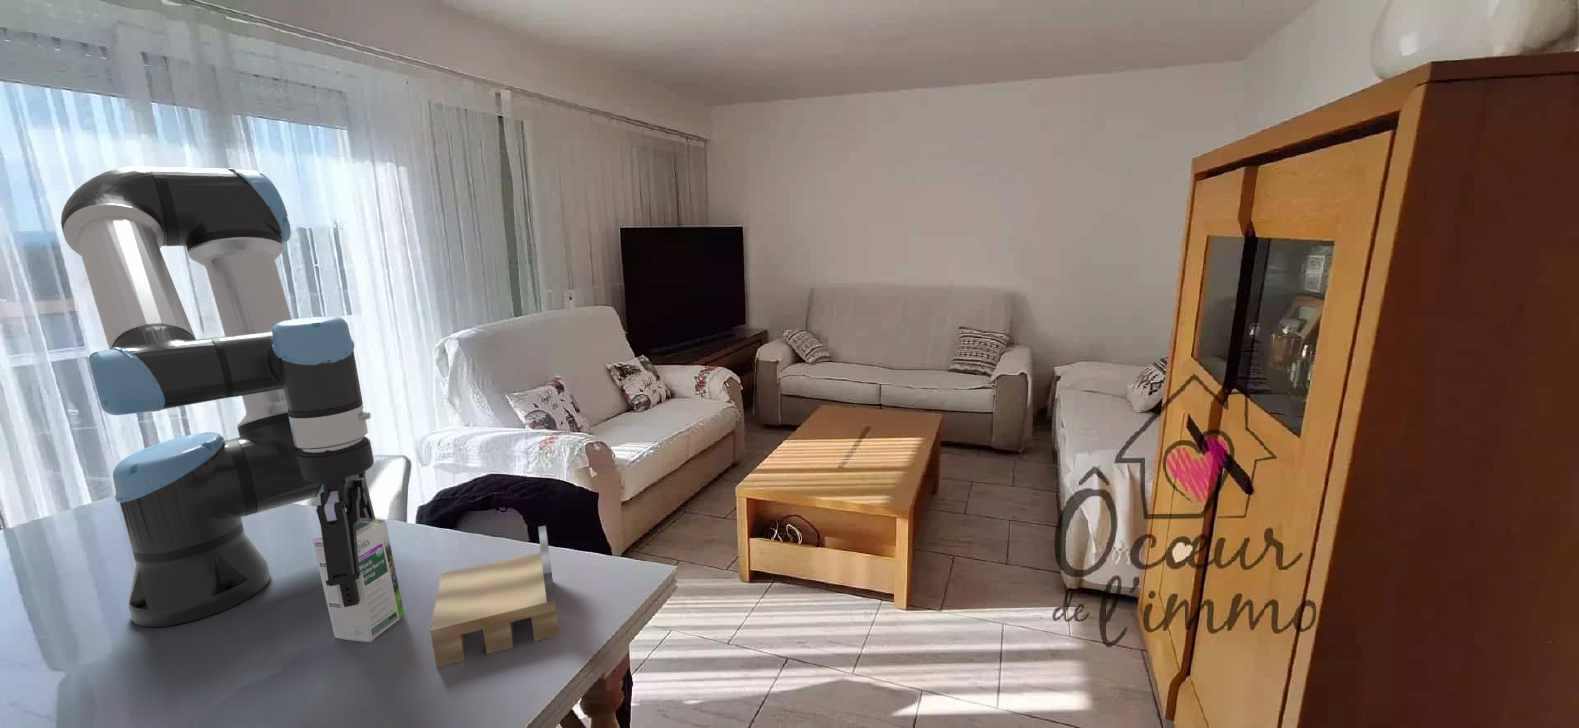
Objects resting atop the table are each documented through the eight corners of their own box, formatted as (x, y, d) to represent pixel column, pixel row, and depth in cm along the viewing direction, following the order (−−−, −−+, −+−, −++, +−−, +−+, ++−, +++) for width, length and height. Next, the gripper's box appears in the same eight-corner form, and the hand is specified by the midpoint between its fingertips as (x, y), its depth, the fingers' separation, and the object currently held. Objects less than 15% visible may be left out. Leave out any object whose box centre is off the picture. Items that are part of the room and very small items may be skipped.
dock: (446, 605, 89) (436, 547, 87) (552, 581, 94) (545, 525, 92) (436, 667, 76) (424, 600, 74) (559, 635, 82) (551, 571, 80)
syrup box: (370, 643, 81) (350, 539, 78) (332, 639, 82) (310, 536, 79) (405, 617, 87) (387, 518, 83) (369, 613, 88) (350, 516, 85)
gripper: (350, 465, 71) (384, 643, 76) (383, 415, 90) (409, 561, 95) (267, 477, 68) (308, 662, 73) (319, 423, 87) (349, 573, 92)
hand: (365, 605), depth 84 cm, fingers open, 8 cm apart
